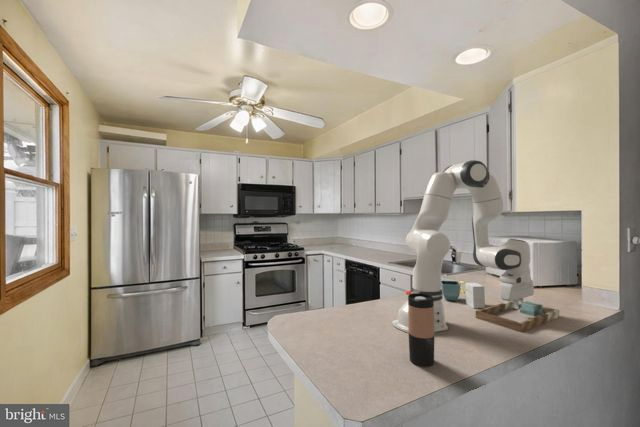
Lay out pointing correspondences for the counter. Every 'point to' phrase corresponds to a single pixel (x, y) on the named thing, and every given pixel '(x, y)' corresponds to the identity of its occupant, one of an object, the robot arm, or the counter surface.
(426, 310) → the travel mug
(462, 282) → the watch
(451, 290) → the flower pot
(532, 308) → the teal block
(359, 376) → the counter surface
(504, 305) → the striped wooden tray
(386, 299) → the counter surface
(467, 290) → the small box
